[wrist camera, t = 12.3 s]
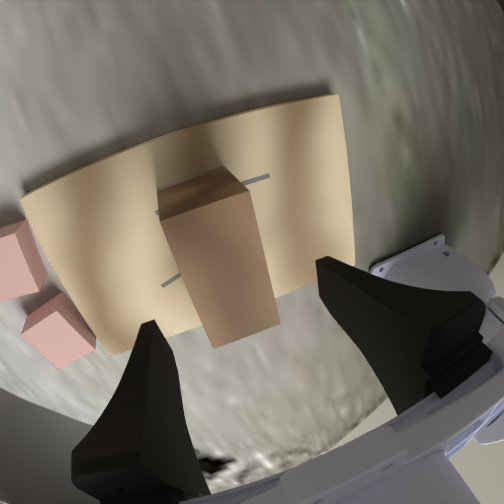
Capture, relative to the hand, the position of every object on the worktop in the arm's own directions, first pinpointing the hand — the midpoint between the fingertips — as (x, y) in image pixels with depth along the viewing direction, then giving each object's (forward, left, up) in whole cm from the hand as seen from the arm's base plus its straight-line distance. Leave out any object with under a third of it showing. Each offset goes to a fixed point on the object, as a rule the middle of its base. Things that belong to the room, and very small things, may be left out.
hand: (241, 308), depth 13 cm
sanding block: (0, 0, -7) cm, 7 cm away
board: (0, 0, -8) cm, 8 cm away
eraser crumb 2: (+13, +3, -8) cm, 15 cm away
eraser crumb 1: (+13, -3, -8) cm, 16 cm away
